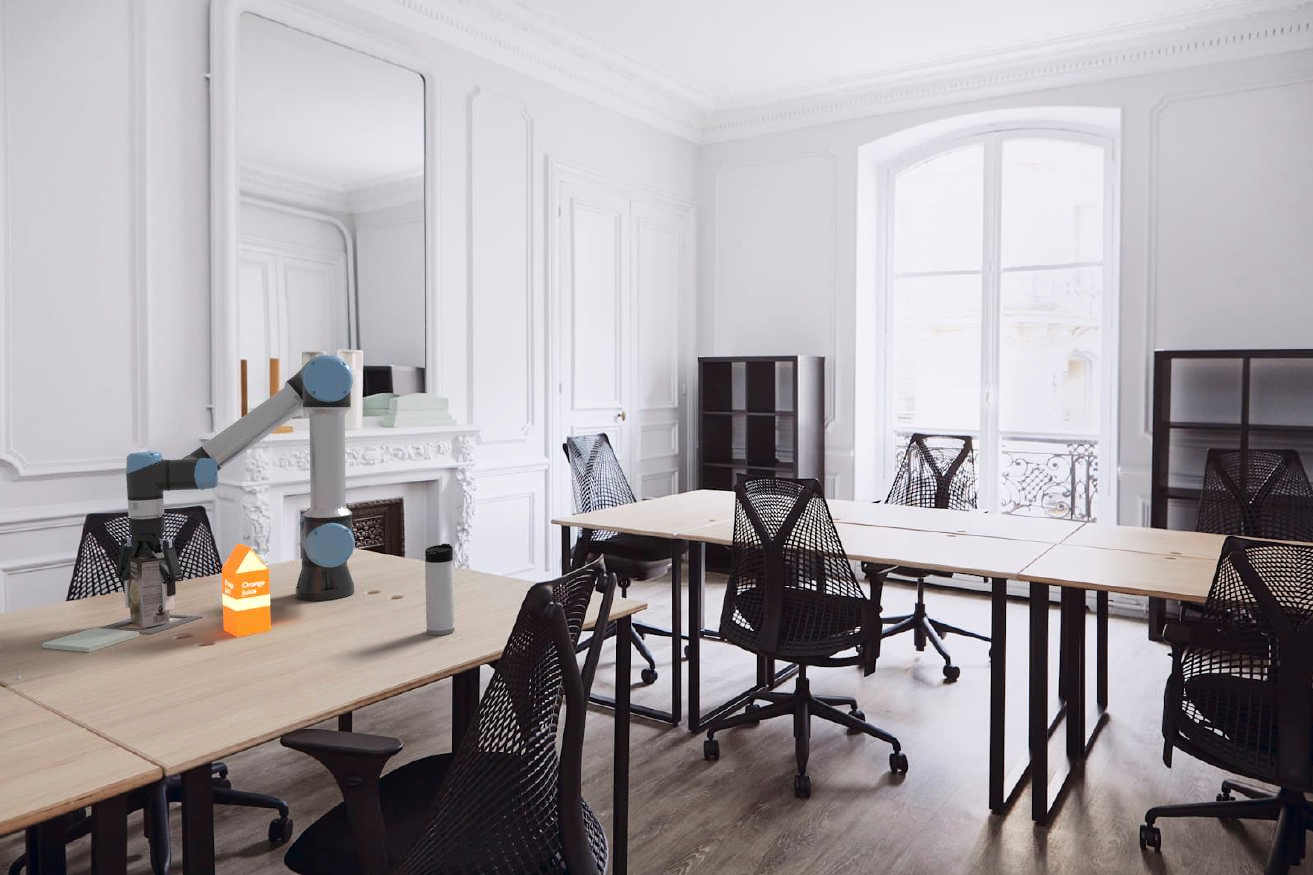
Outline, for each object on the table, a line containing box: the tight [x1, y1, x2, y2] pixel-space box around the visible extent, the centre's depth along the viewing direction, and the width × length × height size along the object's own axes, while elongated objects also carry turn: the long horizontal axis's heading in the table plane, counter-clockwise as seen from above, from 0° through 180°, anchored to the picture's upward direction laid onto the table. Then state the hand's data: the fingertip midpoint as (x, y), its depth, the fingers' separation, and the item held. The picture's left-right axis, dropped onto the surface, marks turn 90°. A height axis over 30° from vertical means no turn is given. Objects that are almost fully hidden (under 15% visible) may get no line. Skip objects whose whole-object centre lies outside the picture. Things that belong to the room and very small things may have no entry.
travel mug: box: [424, 543, 455, 636], centre depth 206 cm, size 6×7×20 cm
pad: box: [42, 627, 140, 653], centre depth 201 cm, size 13×13×1 cm
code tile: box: [99, 613, 203, 635], centre depth 216 cm, size 16×15×1 cm
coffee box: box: [128, 555, 171, 628], centre depth 216 cm, size 9×6×16 cm
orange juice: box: [221, 543, 272, 638], centre depth 209 cm, size 8×9×20 cm
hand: (150, 607), depth 216 cm, fingers closed on coffee box, 10 cm apart
